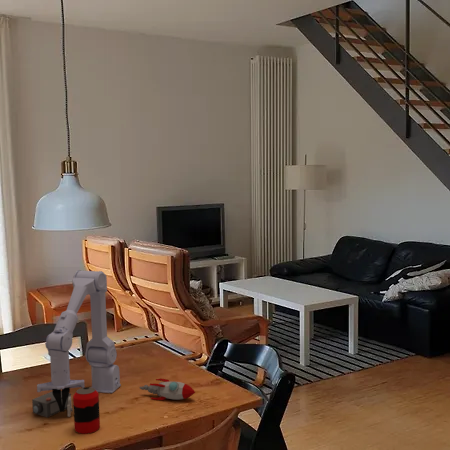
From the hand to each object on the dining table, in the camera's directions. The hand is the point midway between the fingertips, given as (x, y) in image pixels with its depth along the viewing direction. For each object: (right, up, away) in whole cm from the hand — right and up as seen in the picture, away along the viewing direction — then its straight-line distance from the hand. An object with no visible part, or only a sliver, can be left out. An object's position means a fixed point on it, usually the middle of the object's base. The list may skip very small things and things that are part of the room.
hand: (62, 410), depth 199 cm
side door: (+2, -1, +2) cm, 3 cm away
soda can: (+10, -3, -10) cm, 14 cm away
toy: (+32, 0, +13) cm, 35 cm away
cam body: (-5, -1, +5) cm, 7 cm away
